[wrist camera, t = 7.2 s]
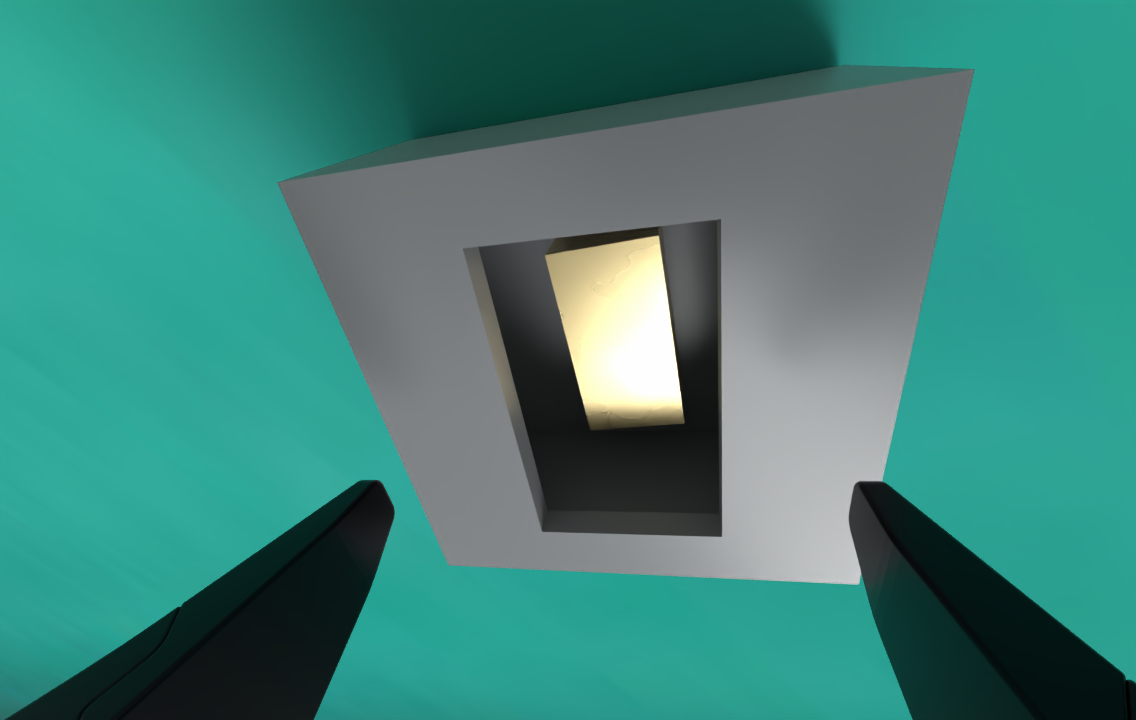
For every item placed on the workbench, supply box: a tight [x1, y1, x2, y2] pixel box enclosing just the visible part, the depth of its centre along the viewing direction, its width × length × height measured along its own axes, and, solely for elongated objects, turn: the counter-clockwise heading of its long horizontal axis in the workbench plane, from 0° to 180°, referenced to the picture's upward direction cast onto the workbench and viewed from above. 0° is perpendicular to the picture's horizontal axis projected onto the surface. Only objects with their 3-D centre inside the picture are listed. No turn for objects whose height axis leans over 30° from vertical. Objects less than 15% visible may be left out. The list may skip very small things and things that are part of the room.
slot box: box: [277, 65, 974, 585], centre depth 14 cm, size 12×12×6 cm
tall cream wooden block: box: [545, 226, 685, 430], centre depth 15 cm, size 3×6×2 cm, turn 13°
